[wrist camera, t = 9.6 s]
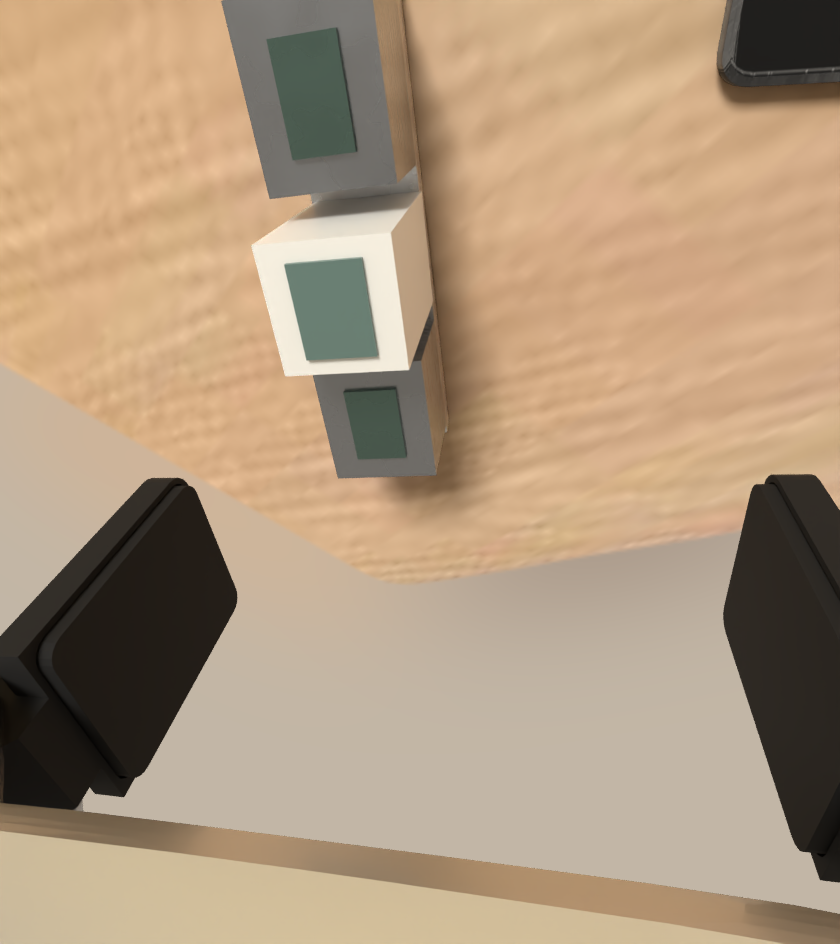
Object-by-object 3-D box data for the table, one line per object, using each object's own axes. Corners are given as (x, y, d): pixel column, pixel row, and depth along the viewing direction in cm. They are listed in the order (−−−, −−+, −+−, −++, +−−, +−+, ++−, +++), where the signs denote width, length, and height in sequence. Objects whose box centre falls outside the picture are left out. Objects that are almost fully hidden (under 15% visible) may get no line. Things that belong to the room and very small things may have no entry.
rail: (398, -24, 23) (365, -50, 18) (449, 421, 34) (437, 486, 29) (279, -2, 24) (213, -20, 19) (365, 425, 35) (339, 488, 30)
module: (421, 191, 26) (389, 234, 20) (432, 301, 29) (408, 372, 22) (314, 202, 27) (249, 246, 21) (335, 308, 30) (283, 378, 23)
